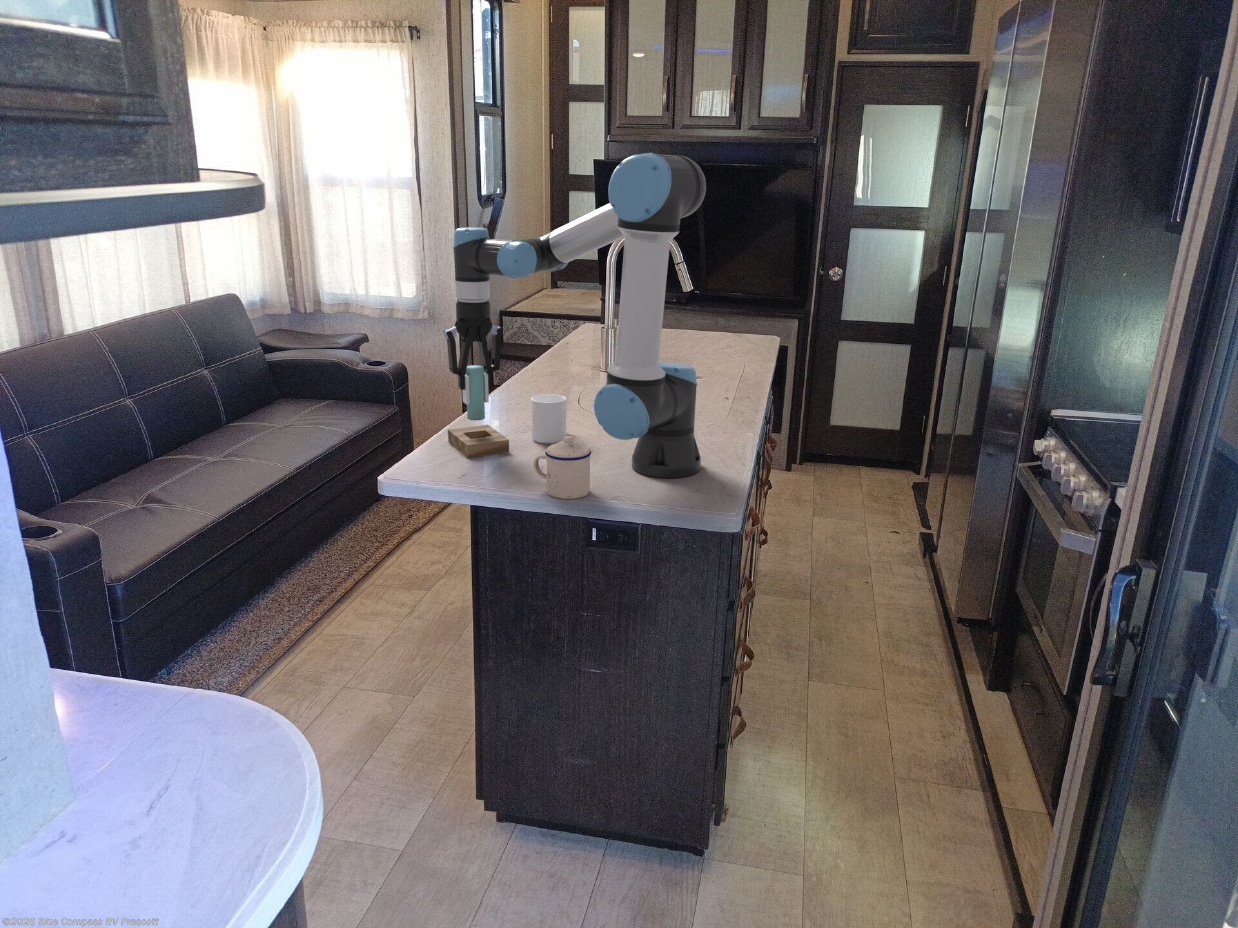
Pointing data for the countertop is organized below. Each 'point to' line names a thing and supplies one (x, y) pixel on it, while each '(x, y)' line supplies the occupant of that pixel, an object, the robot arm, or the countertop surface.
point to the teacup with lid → (566, 469)
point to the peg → (476, 393)
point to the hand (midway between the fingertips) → (475, 401)
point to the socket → (478, 441)
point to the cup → (548, 418)
